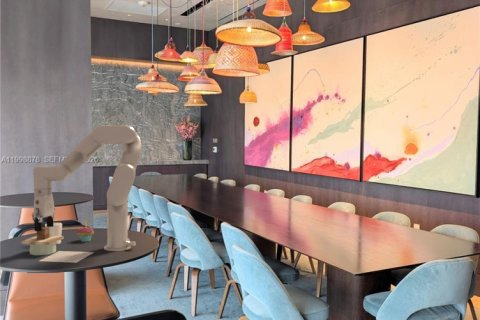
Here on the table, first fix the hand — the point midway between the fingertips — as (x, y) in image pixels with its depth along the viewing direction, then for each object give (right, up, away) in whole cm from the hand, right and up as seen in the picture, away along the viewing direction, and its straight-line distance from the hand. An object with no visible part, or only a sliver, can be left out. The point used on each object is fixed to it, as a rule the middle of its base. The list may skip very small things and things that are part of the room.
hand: (44, 228), depth 194 cm
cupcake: (+10, -11, +25) cm, 29 cm away
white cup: (-4, -11, +19) cm, 22 cm away
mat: (+14, -12, -7) cm, 19 cm away
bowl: (-1, -11, 0) cm, 11 cm away
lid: (-1, -6, 0) cm, 6 cm away
